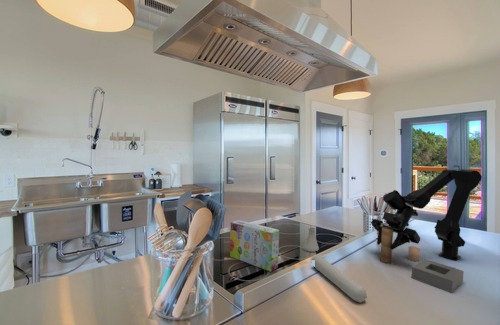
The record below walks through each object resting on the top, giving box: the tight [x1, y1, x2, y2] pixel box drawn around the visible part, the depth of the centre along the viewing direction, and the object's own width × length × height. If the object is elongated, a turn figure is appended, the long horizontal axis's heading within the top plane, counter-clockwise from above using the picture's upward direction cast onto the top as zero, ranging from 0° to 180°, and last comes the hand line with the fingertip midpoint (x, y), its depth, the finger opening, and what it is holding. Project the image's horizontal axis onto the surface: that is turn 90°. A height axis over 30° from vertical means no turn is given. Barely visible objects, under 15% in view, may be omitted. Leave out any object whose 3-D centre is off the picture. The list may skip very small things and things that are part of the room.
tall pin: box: [379, 227, 394, 265], centre depth 106 cm, size 4×4×14 cm
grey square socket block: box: [411, 258, 465, 293], centre depth 92 cm, size 12×12×4 cm
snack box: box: [229, 219, 280, 273], centre depth 103 cm, size 21×6×15 cm, turn 52°
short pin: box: [407, 245, 421, 263], centre depth 109 cm, size 4×4×5 cm
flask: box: [302, 226, 320, 253], centre depth 117 cm, size 7×7×10 cm
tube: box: [311, 254, 368, 303], centre depth 88 cm, size 5×5×25 cm
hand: (384, 246), depth 105 cm, fingers open, 6 cm apart
